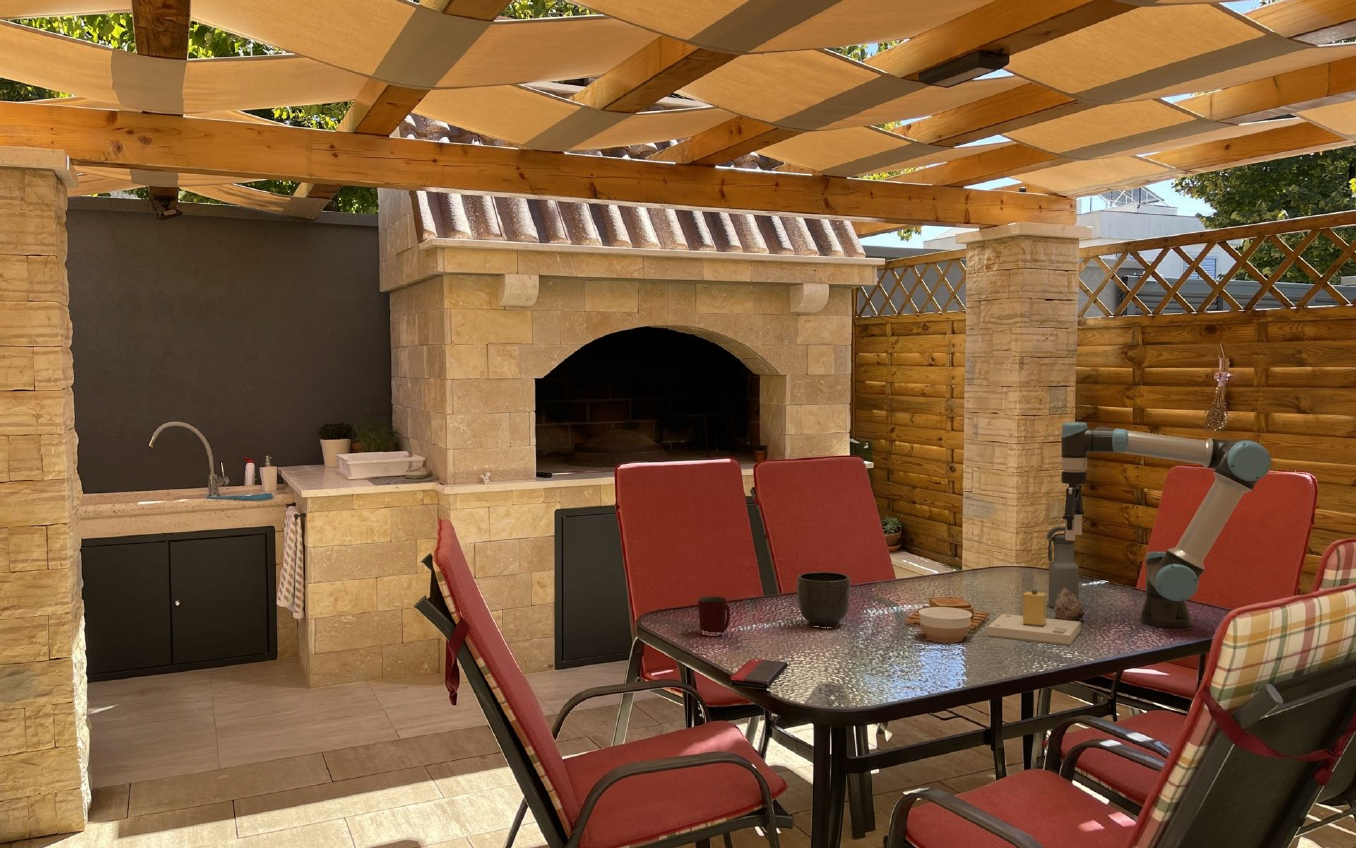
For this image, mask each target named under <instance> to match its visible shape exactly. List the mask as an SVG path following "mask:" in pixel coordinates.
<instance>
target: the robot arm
mask: <svg viewBox="0 0 1356 848" xmlns="http://www.w3.org/2000/svg"><path fill="white" fill-rule="evenodd" d="M1060 445H1061V459H1060V460H1059V463H1060V464H1061V470H1062V471H1061V472H1060V473H1061V477H1060V478H1061V479H1060V481H1061V483H1062V484H1066V485H1067V484H1068V487H1066V488H1065V504H1064V505H1065V506H1064V515H1063V516H1062V520H1064V522H1065V523H1064V524H1065V525H1064V527H1065V540H1071V541H1075V542H1076V535H1077V536H1082V535H1083V515H1085V510H1084V506H1083V505H1084V504H1083V493H1082V492H1083V491H1082V487H1083V485H1085V484H1086V483H1087V482H1088V481H1087V479H1088V478H1087V477H1088V475H1087V474H1088V472H1086V470H1088V455H1087V453H1109V454H1110V453H1112V454H1113V453H1114V454H1117V453H1118V454H1120V453H1121V454H1122V453H1123V454H1129V455H1135V456H1141V457H1151V458H1156V459H1163V460H1170V461H1178V462H1185V463H1192V464H1198V465H1202V466H1203V467H1204V468H1206V469H1212V470H1214V471H1213V476H1214V482H1213V483H1212V486H1211V487H1210V489H1208V492H1207V494H1206V495H1205V496H1204V499H1203V500H1202V502H1201V504H1200V505H1199V506H1198V508H1197V510H1196V512H1195V513H1194V515H1193V517H1192V519H1191V521H1190V523H1189V524H1188V526H1187V528H1186V529H1185V531H1184V532H1183V534H1182V535H1181V537H1180V539H1179V541H1178V543H1177V544H1176V546H1175V547H1172V548H1168V549H1167V550H1166V551H1149V552H1147V553H1146V557H1145V560H1144V561H1145V598H1144V601H1143V604H1142V607H1141V609H1140V613H1139V621H1140V623H1143V624H1145V625H1149V626H1152V627H1153V626H1154V627H1160V628H1161V627H1162V628H1186V627H1190V626H1192V615H1191V613H1190V609H1189V606H1188V603H1187V601H1188V599H1190V598H1192V597H1193V596H1194V595H1195V594H1196V593H1197V591H1198V588H1199V579H1200V578H1201V576H1202V575H1203V573H1204V571H1205V569H1206V567H1205V564H1204V560H1205V559H1206V557H1207V556H1208V554H1209V552H1210V550H1211V549H1212V548H1213V545H1214V544H1215V542H1216V540H1217V539H1218V537H1219V535H1220V534H1221V532H1222V530H1224V527H1225V525H1226V524H1227V522H1228V520H1229V519H1230V517H1231V515H1232V513H1233V512H1234V511H1235V509H1236V507H1237V506H1238V504H1239V502H1240V500H1241V499H1242V497H1243V495H1245V494H1246V493H1249V492H1252V491H1253V490H1254V488H1255V486H1256V485H1257V484H1258V482H1259V480H1262V479H1263V478H1264V477H1265V476H1266V475H1268V472H1269V471H1270V469H1271V465H1272V460H1271V459H1272V458H1271V455H1270V452H1269V451H1268V450H1267V448H1265V447H1264V446H1263V445H1262V444H1260V443H1258V442H1256V441H1253V440H1249V439H1247V440H1246V439H1242V438H1241V439H1239V438H1237V439H1234V438H1232V439H1231V438H1230V439H1227V438H1226V439H1225V438H1223V439H1222V438H1221V439H1220V438H1211V437H1209V438H1208V439H1206V440H1203V439H1202V440H1201V439H1194V438H1187V437H1180V436H1172V435H1165V434H1158V433H1157V434H1156V433H1149V432H1143V431H1135V430H1128V429H1125V428H1113V427H1107V426H1097V427H1095V428H1088V424H1087V423H1086V422H1078V421H1077V422H1073V421H1072V422H1064V423H1063V424H1062V425H1061V444H1060ZM1186 600H1187V601H1186Z"/></svg>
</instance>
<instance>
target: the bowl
mask: <svg viewBox="0 0 1356 848" xmlns="http://www.w3.org/2000/svg"><path fill="white" fill-rule="evenodd" d="M918 614H919V627H920V629H921V630H922V632H923V633H924V634H925V635H926V638H927V639H928V640H931V641H933V642H938V643H959V642H961V641H963V640H964V638H965V637H966V636H967V635H968V633H969V631H970V630H971V625H972V623H971V622H972V621H971V620H972V619H971V618H972V616H973V613H972V612H970V611H969V610H965V609H963V608H958V607H956V608H955V607H949V606H948V607H947V606H934V607H933V606H932V607H925V608H924V607H923V608H921V609H919V610H918Z"/></svg>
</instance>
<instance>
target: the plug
mask: <svg viewBox="0 0 1356 848" xmlns="http://www.w3.org/2000/svg"><path fill="white" fill-rule="evenodd" d="M1022 616H1023V623H1026V624H1027V626H1035V627H1042V625H1044V624H1045V623H1046V618H1047V593H1045V592H1038V589H1031V591H1025V592H1024V593H1022Z"/></svg>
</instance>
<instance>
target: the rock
mask: <svg viewBox="0 0 1356 848" xmlns="http://www.w3.org/2000/svg"><path fill="white" fill-rule="evenodd" d="M1053 612H1054V616H1055V617H1056V618H1057V619H1058V620H1067V621H1077V622H1081V620H1082V619H1083V617H1084V615H1085V612H1084V610H1083V606H1082V604H1081V601H1080V599H1079V600H1078V598H1077V596H1075V595H1074V594H1073V593H1071V591H1069V590H1067V589H1066V588H1062V590H1060V592H1059V593H1058V595H1057V597H1056V606H1055V608H1053Z"/></svg>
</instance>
